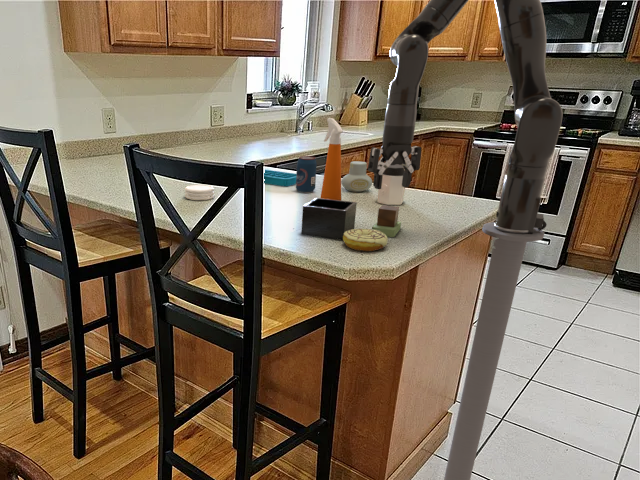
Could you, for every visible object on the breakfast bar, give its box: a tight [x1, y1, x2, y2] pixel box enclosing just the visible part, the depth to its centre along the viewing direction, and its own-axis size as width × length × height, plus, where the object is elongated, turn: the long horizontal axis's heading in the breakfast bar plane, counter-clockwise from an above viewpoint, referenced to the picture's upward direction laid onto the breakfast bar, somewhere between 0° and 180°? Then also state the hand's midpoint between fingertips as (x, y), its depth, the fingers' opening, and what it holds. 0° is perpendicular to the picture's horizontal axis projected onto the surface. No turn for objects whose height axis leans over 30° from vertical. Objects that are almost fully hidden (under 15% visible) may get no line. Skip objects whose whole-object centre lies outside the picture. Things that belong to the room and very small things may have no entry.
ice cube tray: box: [263, 168, 297, 187], centre depth 205 cm, size 12×20×3 cm, turn 52°
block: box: [376, 204, 400, 228], centre depth 142 cm, size 5×5×5 cm
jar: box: [377, 164, 406, 206], centre depth 172 cm, size 9×8×12 cm
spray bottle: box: [319, 117, 343, 201], centre depth 170 cm, size 7×11×26 cm, turn 18°
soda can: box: [295, 155, 318, 194], centre depth 187 cm, size 7×7×12 cm
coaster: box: [184, 184, 215, 201], centre depth 179 cm, size 10×10×4 cm
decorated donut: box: [342, 228, 389, 252], centre depth 131 cm, size 10×11×4 cm
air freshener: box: [341, 160, 373, 193], centre depth 189 cm, size 11×8×10 cm
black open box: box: [301, 197, 358, 241], centre depth 141 cm, size 12×11×8 cm
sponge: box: [371, 221, 402, 238], centre depth 143 cm, size 9×6×2 cm, turn 154°
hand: (391, 187), depth 138 cm, fingers open, 8 cm apart
